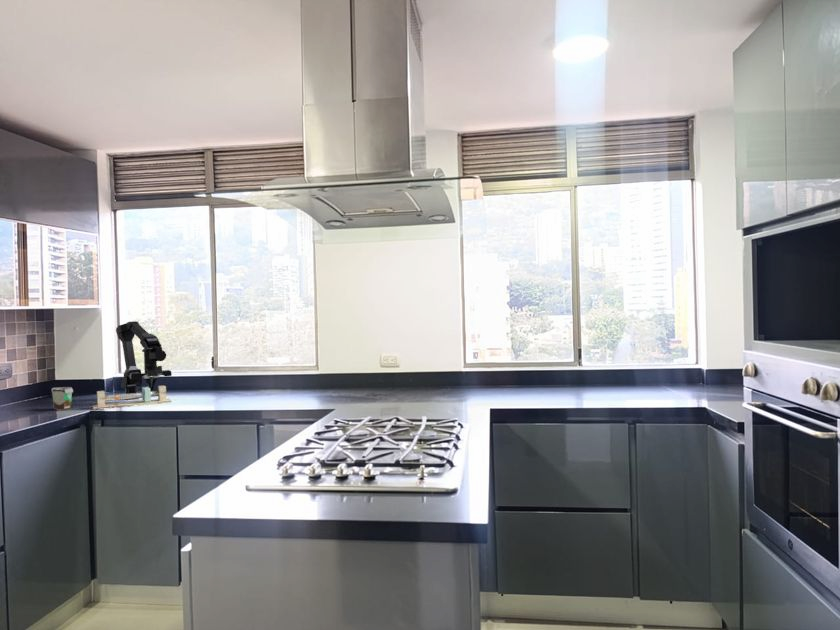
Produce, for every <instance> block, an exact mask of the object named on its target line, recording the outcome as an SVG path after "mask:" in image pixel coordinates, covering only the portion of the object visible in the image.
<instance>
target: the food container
mask: <svg viewBox="0 0 840 630" xmlns="http://www.w3.org/2000/svg"><path fill="white" fill-rule="evenodd" d="M73 393H74V389H73V388H72V386H62V387H61V386H60V387H59V386H58V387H52V388H51V394H52V404H53V405H52V406H53V410H57V411H58V410H59V411H60V410H61V411H67V410H71V409H72V398H73V397H72V396H73V395H72V394H73Z"/></svg>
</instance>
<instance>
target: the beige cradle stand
mask: <svg viewBox="0 0 840 630" xmlns="http://www.w3.org/2000/svg"><path fill="white" fill-rule="evenodd" d="M157 391H159V396H157V398H156V399H151V401H149V402H145V401H144V400H137V401H127V402H126V401H125V402H116V403H107V404H106V401H105V396H106V394H105V393H106V391H105V390H97V391H96V399H98V402H97V401H96V405H92V406H91V407H93V408H92V409H99V410H101V409H100V408H109V407H118V408H122V407H121V406H128V407H134V406H133V405H138V406H144V405H145V406H146V405H147V406H148V405H157V404H165V403H166V404H167V403H172V400H171V399H170V398H168V397H167V386H166V385H158V386H157ZM109 409H110V408H109Z"/></svg>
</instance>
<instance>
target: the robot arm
mask: <svg viewBox="0 0 840 630" xmlns="http://www.w3.org/2000/svg"><path fill="white" fill-rule="evenodd" d="M115 332H116V335H117V338H118V339H119V341H120V342H121V343H122V349H123V350H122V351H123V357H124V362H125V363H124V364H125V370H124V371H123V378H122V380H121V383H120V386H121V388H122V389H124V390H125V391H124V392H125V394H130V393H139V392H138V387H142V383H143V381H145V382H146V383H147V387H149V388H150V392H152V391H154V389H155V388H154V387H155V385H156V382H157V380H158V379H160V376H164V377H172V370H169V369H165V370H164V369H163V367H162V365H158V364H157V363H158V362H163V361H165V360H166V359H167V352H166V351H164V349H163V347H162V346H163V345H162V343H161V342H160V339H158V337H157V336H156V335H155V334H154V333H153V334H152V333H149V332H148V331H146V330H145V328H144V327H143V326H141V324H140V323H139V321H128V322H126V323H123V324H119V325H118V326H117V327H116V329H115ZM135 336H136V337H137V338H138V339H139V343H140V345H141V347H142V348H143V349H142V351H141V352H142V353H143V364H144V367H143V368H144V373H142V370H141V368H138V367H137V363H136V362H137V361H136V357H135V352H134V349H135V348H134V344H133V339H134V337H135ZM136 399H138V398H134V399H133V400H136ZM124 400H128V399H124Z"/></svg>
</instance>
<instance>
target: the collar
mask: <svg viewBox="0 0 840 630" xmlns="http://www.w3.org/2000/svg"><path fill="white" fill-rule="evenodd" d="M141 391H142V392H145V397H144V398H141V399H142V401H145V402H149V401H151V400H152V397H151V391H150V388H149V386H141Z"/></svg>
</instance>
